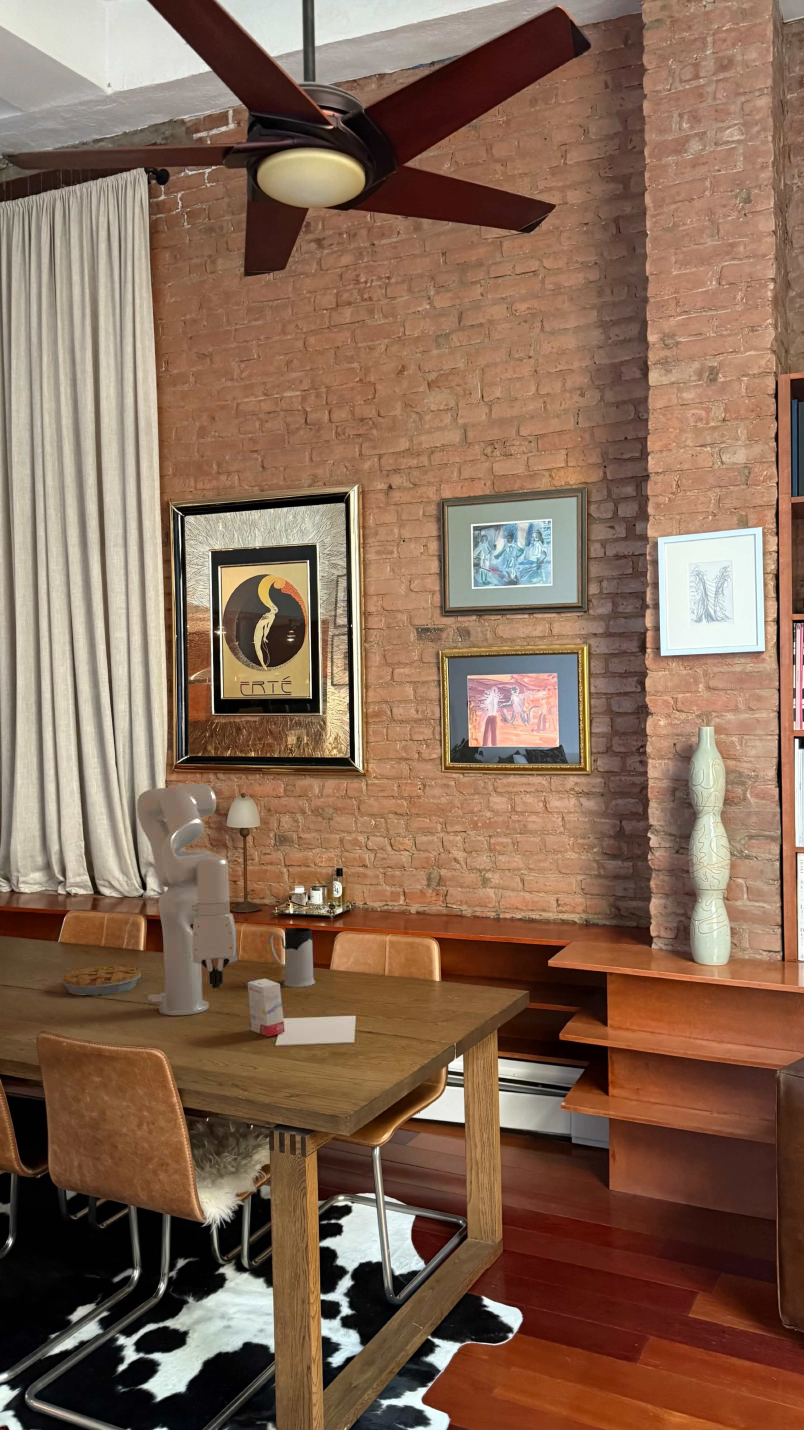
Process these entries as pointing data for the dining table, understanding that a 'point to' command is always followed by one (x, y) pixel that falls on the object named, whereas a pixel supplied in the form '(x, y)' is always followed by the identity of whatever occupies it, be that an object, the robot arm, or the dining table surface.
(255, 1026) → the ink box
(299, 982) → the tall grey black mug
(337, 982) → the dining table surface
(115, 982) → the pie
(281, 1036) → the mat
